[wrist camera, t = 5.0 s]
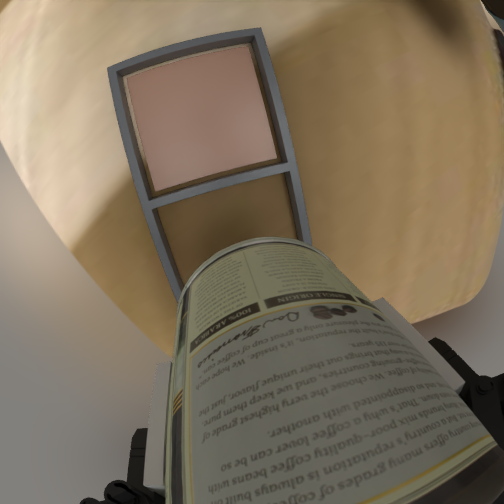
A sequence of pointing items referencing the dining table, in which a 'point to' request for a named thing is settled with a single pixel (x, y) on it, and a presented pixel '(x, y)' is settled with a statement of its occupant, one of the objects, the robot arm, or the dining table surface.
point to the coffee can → (310, 394)
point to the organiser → (203, 126)
